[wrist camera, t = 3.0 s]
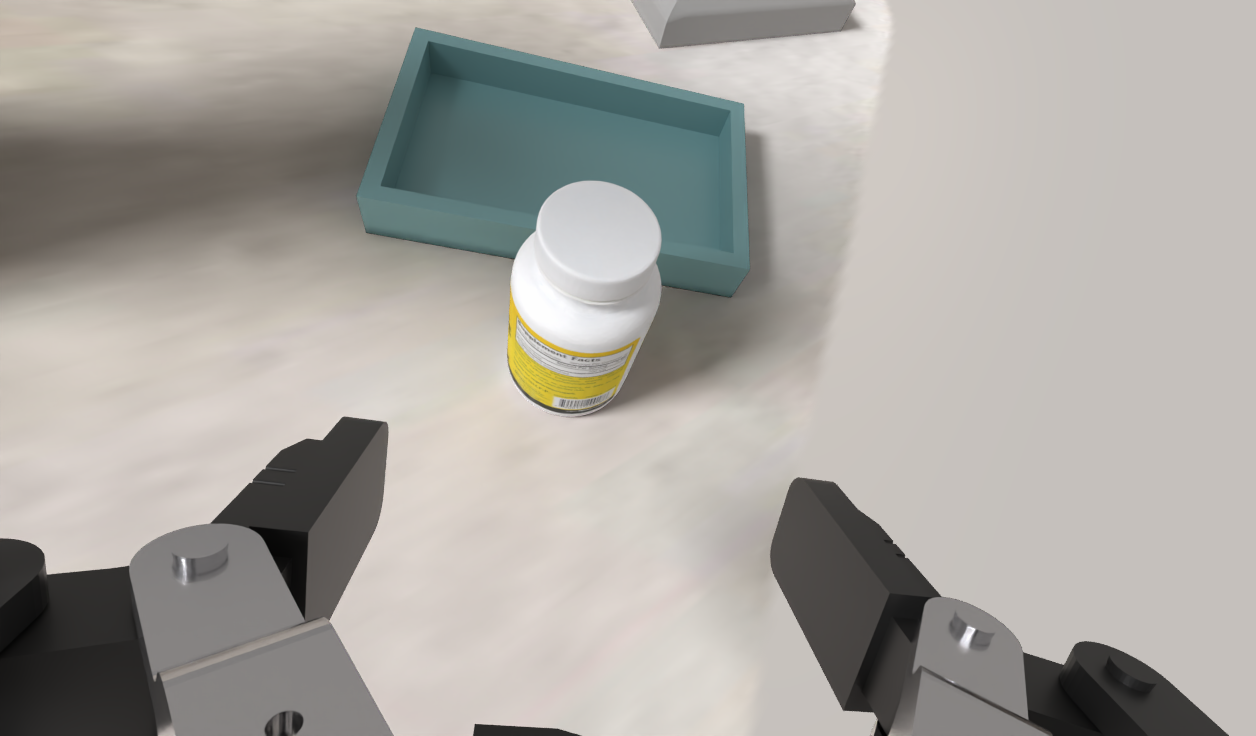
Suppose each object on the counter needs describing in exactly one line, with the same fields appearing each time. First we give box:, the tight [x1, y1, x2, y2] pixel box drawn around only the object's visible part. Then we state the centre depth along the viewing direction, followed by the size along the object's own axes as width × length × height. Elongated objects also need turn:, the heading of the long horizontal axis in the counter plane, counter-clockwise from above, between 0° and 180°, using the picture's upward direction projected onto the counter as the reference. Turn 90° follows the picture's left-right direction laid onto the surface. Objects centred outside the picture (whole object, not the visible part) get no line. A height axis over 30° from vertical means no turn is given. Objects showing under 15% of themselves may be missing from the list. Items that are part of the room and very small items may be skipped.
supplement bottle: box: [507, 181, 662, 417], centre depth 23 cm, size 5×5×10 cm
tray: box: [356, 28, 750, 297], centre depth 31 cm, size 18×12×2 cm, turn 86°
